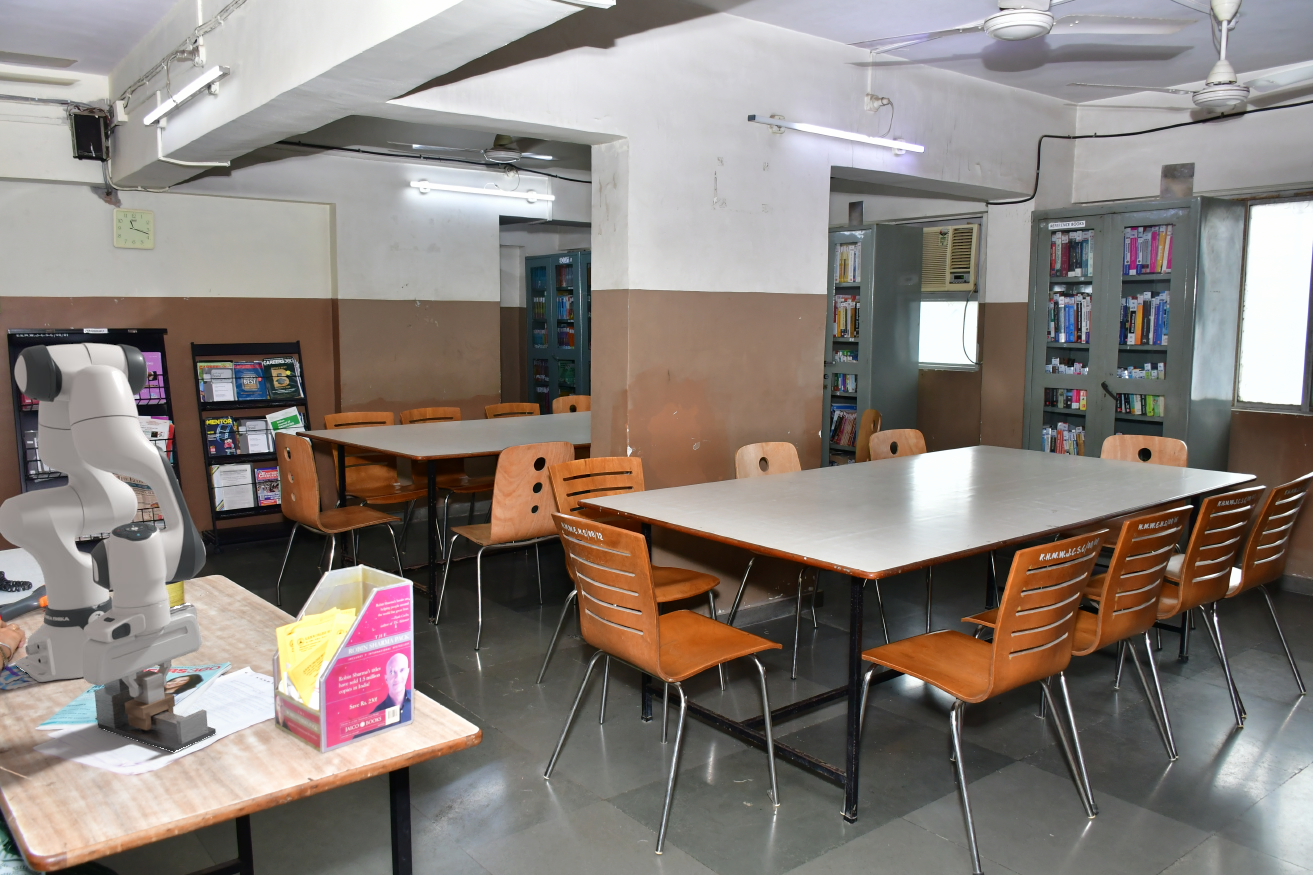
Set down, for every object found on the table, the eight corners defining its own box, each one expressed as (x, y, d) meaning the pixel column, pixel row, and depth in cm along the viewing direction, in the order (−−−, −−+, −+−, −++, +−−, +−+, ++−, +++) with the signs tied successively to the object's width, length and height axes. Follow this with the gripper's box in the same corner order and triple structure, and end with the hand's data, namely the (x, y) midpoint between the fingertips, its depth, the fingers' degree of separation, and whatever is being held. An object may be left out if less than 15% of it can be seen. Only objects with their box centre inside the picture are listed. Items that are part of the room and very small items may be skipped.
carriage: (126, 725, 165) (122, 678, 164) (158, 712, 170) (154, 666, 169) (144, 731, 163) (140, 683, 161) (176, 717, 168) (172, 671, 167)
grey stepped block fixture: (97, 727, 168) (92, 674, 166) (140, 710, 175) (135, 659, 173) (174, 753, 158) (169, 696, 156) (215, 733, 165) (211, 680, 163)
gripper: (184, 597, 174) (189, 667, 176) (73, 630, 156) (80, 708, 158) (206, 601, 171) (211, 673, 173) (96, 636, 154) (103, 716, 155)
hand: (148, 690), depth 166 cm, fingers closed on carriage, 3 cm apart
